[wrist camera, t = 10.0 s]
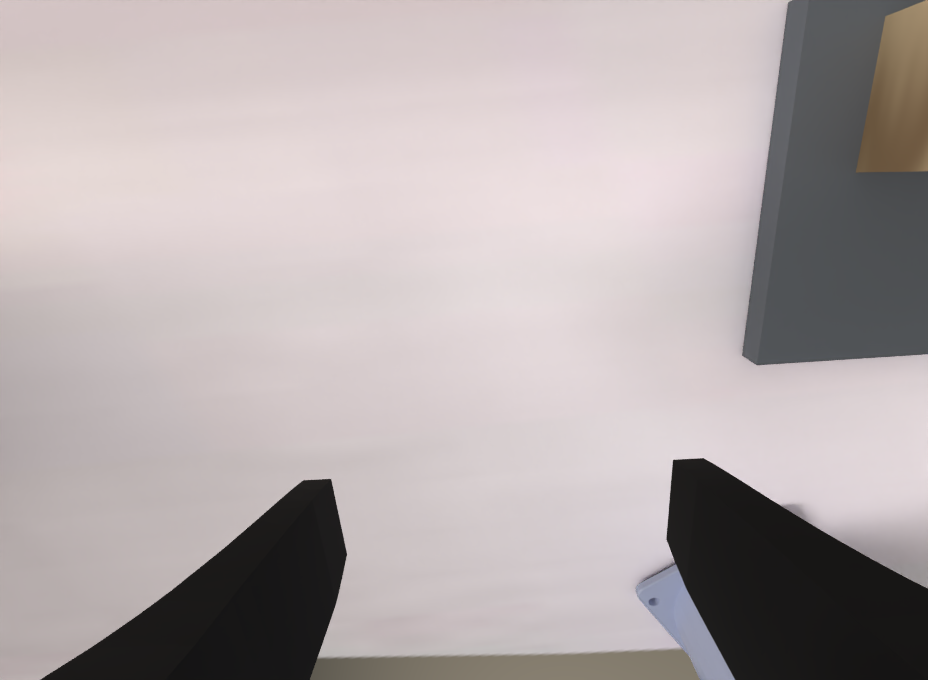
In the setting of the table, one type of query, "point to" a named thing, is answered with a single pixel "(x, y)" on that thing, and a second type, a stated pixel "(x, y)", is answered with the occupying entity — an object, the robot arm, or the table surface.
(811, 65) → the pin plate
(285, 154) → the table surface
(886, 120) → the hollow block
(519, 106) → the table surface
